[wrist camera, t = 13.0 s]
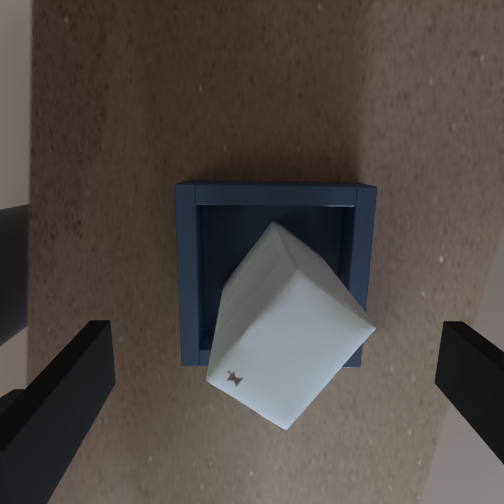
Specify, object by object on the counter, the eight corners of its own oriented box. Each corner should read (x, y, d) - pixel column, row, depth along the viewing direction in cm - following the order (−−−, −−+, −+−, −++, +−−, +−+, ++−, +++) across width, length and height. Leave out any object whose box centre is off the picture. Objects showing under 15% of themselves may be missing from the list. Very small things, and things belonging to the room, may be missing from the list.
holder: (189, 340, 28) (181, 366, 25) (185, 180, 25) (174, 183, 22) (346, 342, 28) (360, 368, 25) (360, 182, 25) (377, 186, 22)
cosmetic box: (270, 317, 27) (284, 436, 15) (222, 284, 26) (199, 382, 15) (323, 252, 26) (382, 329, 14) (274, 216, 25) (294, 264, 14)
